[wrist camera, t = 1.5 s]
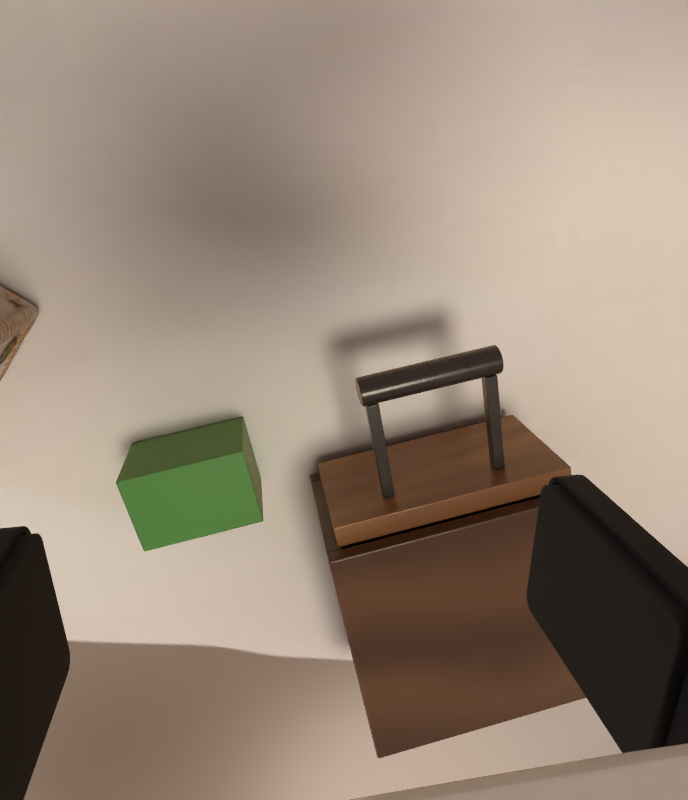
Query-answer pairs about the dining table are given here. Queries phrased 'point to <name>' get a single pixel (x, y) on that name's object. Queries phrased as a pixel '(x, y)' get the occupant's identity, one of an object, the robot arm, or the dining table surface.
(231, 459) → the green block
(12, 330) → the decorative jar
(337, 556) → the cabinet
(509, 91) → the dining table surface
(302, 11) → the dining table surface
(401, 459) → the drawer
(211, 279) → the dining table surface
